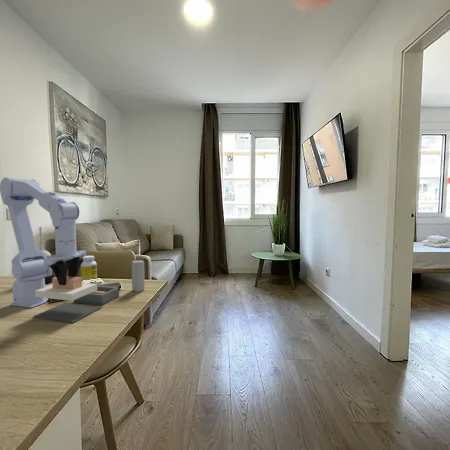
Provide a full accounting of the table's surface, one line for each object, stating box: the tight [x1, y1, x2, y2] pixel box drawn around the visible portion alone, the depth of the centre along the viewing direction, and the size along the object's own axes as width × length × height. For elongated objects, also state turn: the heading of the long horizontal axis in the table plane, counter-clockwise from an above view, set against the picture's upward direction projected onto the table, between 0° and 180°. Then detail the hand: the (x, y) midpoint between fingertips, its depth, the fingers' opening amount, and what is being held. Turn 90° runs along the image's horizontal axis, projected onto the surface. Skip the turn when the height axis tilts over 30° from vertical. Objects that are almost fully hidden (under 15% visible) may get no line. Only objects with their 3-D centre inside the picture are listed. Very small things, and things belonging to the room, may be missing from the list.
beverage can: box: [131, 259, 146, 293], centre depth 109 cm, size 5×5×12 cm
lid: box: [35, 275, 98, 302], centre depth 86 cm, size 14×11×5 cm
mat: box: [32, 302, 103, 324], centre depth 87 cm, size 15×12×1 cm
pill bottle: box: [80, 255, 98, 281], centre depth 121 cm, size 6×6×12 cm
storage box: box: [73, 285, 120, 306], centre depth 99 cm, size 12×9×4 cm
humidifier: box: [38, 226, 55, 286], centre depth 119 cm, size 8×8×25 cm
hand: (67, 282), depth 86 cm, fingers closed on lid, 3 cm apart
